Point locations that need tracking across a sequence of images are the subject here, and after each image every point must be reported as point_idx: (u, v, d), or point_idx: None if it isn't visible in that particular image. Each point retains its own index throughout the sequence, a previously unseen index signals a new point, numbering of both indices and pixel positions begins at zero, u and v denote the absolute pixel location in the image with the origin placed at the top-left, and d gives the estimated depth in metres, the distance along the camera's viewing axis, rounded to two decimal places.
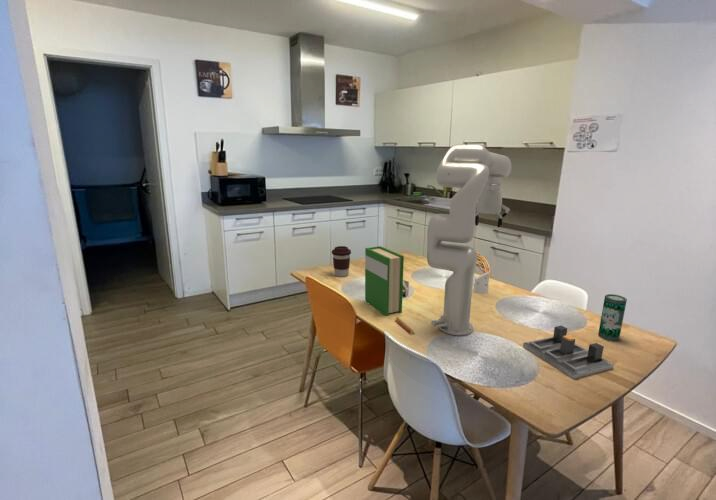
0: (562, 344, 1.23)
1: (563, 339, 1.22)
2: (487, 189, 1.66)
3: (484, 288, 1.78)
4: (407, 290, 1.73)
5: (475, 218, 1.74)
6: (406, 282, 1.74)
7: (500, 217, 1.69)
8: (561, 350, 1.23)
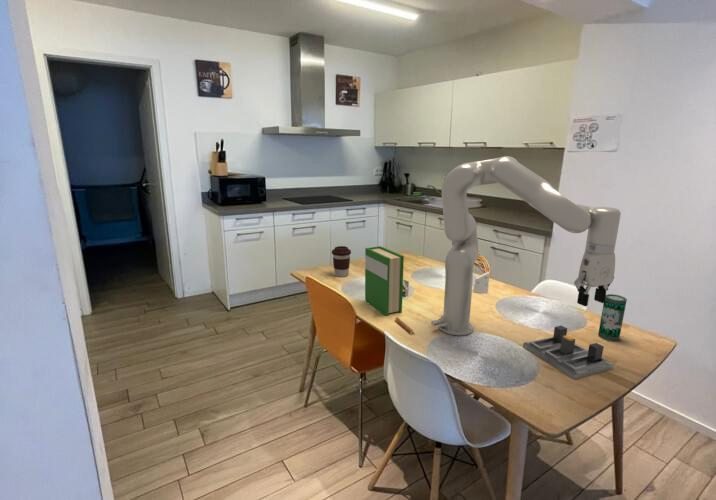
0: (562, 344, 1.23)
1: (563, 339, 1.22)
2: (608, 253, 1.14)
3: (484, 288, 1.78)
4: (407, 290, 1.73)
5: (584, 296, 1.19)
6: (406, 282, 1.74)
7: (606, 289, 1.21)
8: (561, 350, 1.23)
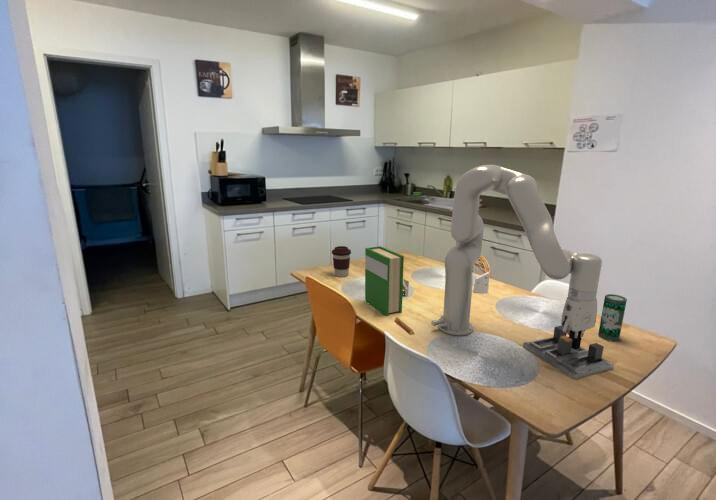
0: (559, 345, 1.22)
1: (560, 340, 1.21)
2: (590, 299, 1.16)
3: (484, 288, 1.78)
4: (407, 290, 1.74)
5: (574, 340, 1.22)
6: (406, 282, 1.74)
7: (581, 335, 1.22)
8: (558, 351, 1.23)
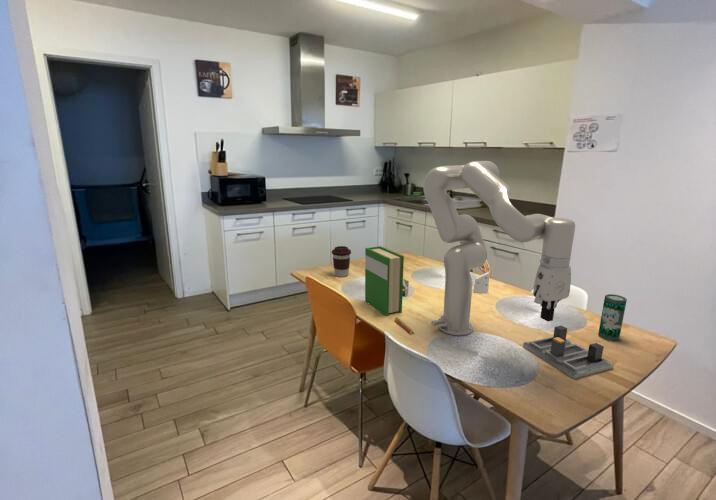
0: (552, 346, 1.21)
1: (553, 341, 1.20)
2: (563, 266, 1.08)
3: (484, 288, 1.78)
4: (407, 289, 1.74)
5: (547, 311, 1.14)
6: (406, 281, 1.75)
7: (554, 306, 1.14)
8: (551, 352, 1.22)
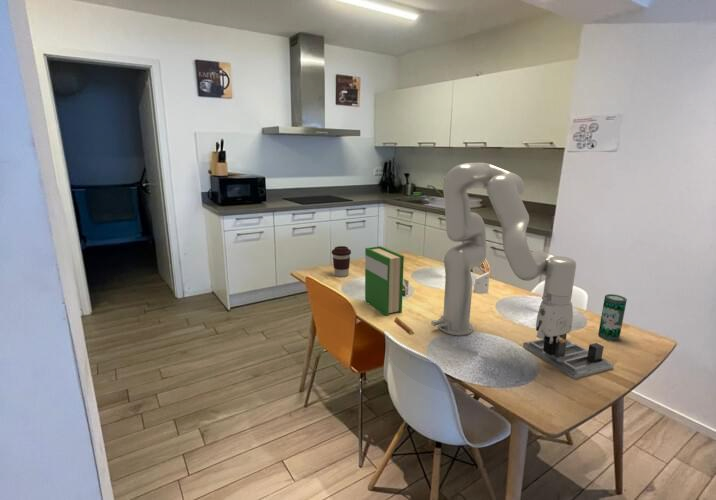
0: None
1: None
2: (564, 304, 1.12)
3: (484, 288, 1.78)
4: (407, 289, 1.74)
5: (549, 345, 1.18)
6: (406, 281, 1.75)
7: (556, 341, 1.18)
8: None
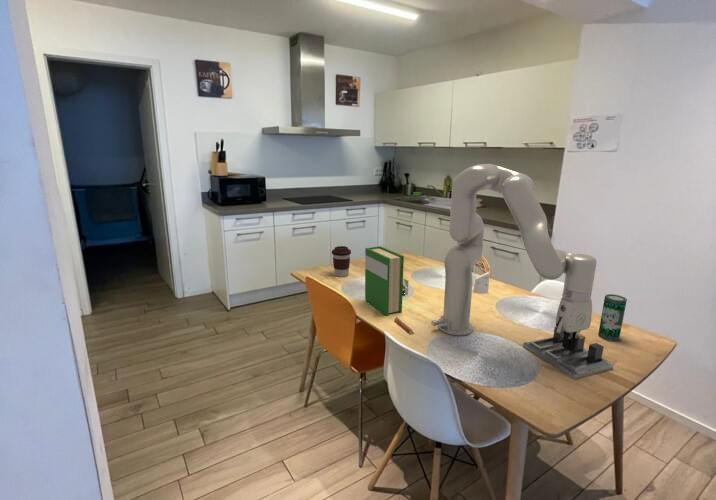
0: None
1: None
2: (584, 300, 1.15)
3: (484, 288, 1.78)
4: (406, 289, 1.74)
5: (568, 341, 1.21)
6: (406, 281, 1.75)
7: (575, 336, 1.21)
8: None
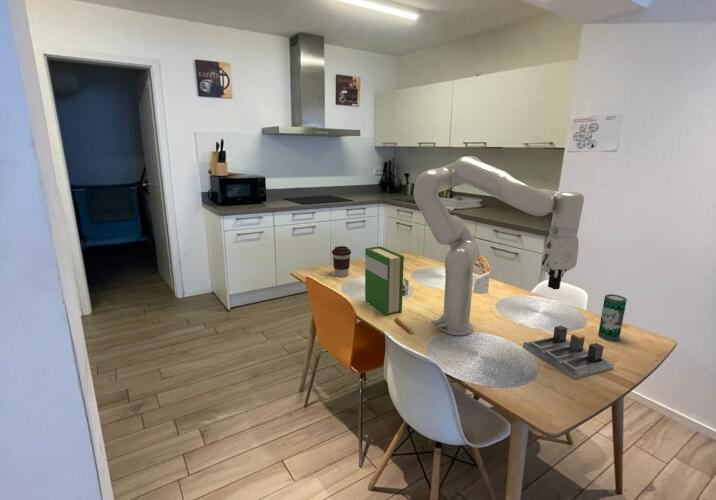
0: (571, 342, 1.24)
1: (572, 337, 1.23)
2: (570, 237, 1.15)
3: (484, 288, 1.78)
4: (406, 289, 1.75)
5: (554, 280, 1.22)
6: (406, 281, 1.75)
7: (561, 275, 1.22)
8: (570, 348, 1.24)
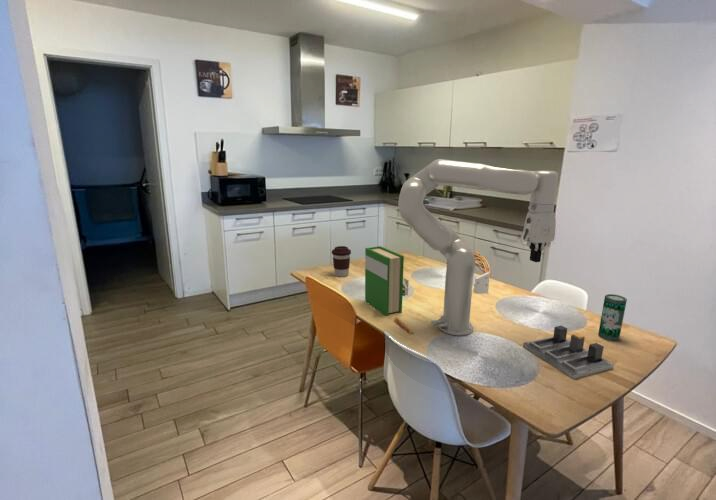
0: (571, 342, 1.24)
1: (572, 337, 1.23)
2: (547, 211, 1.25)
3: (484, 288, 1.78)
4: (406, 289, 1.75)
5: (535, 253, 1.31)
6: (406, 281, 1.76)
7: (541, 249, 1.31)
8: (570, 348, 1.24)
